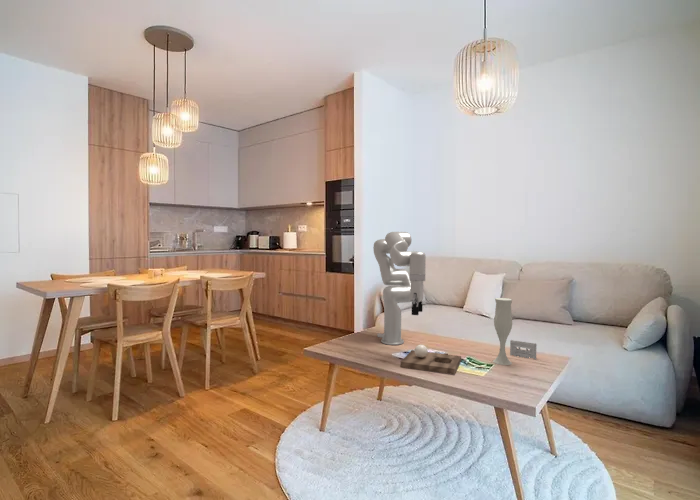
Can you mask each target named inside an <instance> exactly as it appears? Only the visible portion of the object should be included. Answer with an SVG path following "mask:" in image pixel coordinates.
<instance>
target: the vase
mask: <svg viewBox="0 0 700 500" xmlns="http://www.w3.org/2000/svg"><path fill="white" fill-rule="evenodd" d="M494 299H495V308H494V309H495V312H494V316H493V324H494V325H493V326H494V329H495V331H496V335H497V338H498V341H499V352H498V354H497V357H496V358H494V360H492V363H494V364H497V365H501V366H510V365H513V363H512V361H511V360H510V359H508V356H507V352H506V343H507V339H508V337H509V335H510V334H511V330H512V328H513V315H512V302H513V299H511V298H508V297H506V298H505V297H497V298H494Z"/></svg>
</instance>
